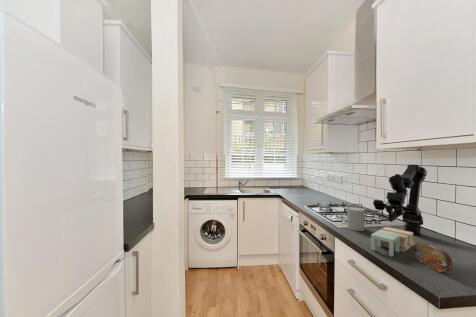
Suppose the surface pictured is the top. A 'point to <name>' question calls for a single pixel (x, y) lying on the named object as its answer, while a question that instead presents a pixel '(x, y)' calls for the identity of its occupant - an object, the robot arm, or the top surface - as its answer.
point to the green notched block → (388, 238)
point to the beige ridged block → (405, 238)
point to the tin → (432, 257)
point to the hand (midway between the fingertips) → (390, 221)
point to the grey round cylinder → (356, 218)
